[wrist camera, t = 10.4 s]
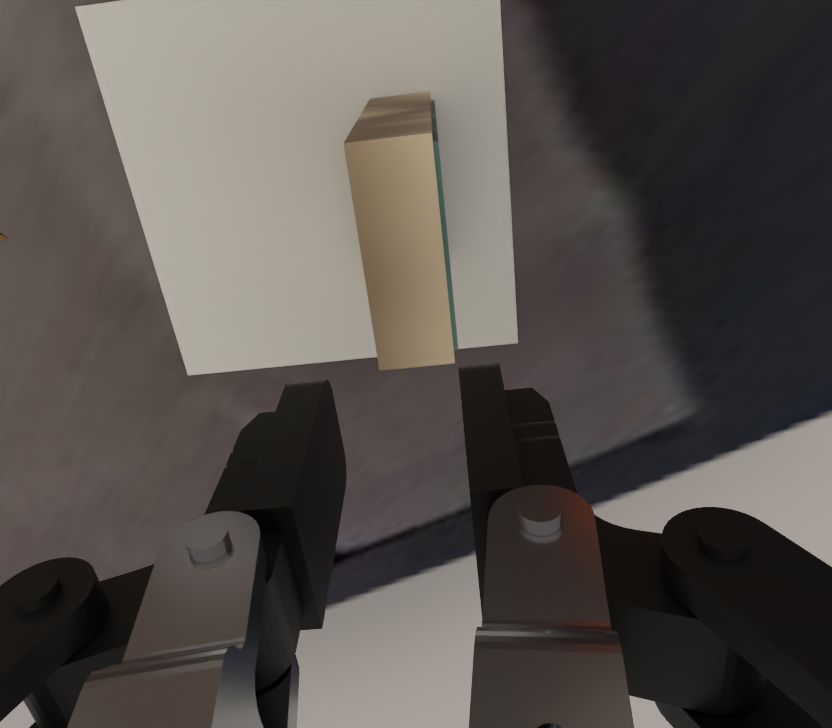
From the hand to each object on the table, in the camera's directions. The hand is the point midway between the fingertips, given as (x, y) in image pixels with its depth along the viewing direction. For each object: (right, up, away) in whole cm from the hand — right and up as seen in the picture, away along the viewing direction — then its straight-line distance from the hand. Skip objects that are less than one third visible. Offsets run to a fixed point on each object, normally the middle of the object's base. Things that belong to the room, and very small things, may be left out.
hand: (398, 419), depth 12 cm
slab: (0, +9, +17) cm, 19 cm away
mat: (-4, +8, +17) cm, 19 cm away
